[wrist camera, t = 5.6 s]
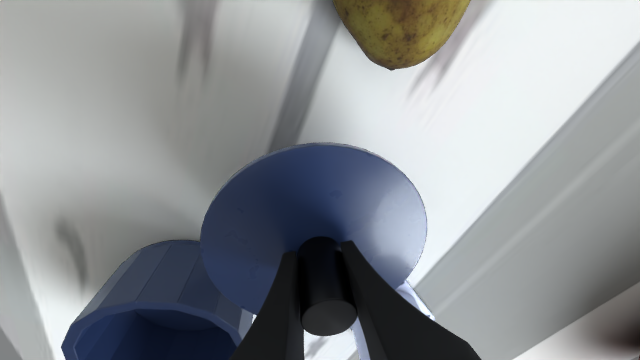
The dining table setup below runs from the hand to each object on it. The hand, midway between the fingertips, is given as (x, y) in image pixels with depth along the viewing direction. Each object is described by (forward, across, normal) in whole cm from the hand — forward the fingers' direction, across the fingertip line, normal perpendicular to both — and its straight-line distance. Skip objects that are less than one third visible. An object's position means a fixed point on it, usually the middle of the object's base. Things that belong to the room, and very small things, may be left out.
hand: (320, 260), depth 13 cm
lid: (+1, 0, 0) cm, 1 cm away
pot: (+6, +12, +7) cm, 16 cm away
